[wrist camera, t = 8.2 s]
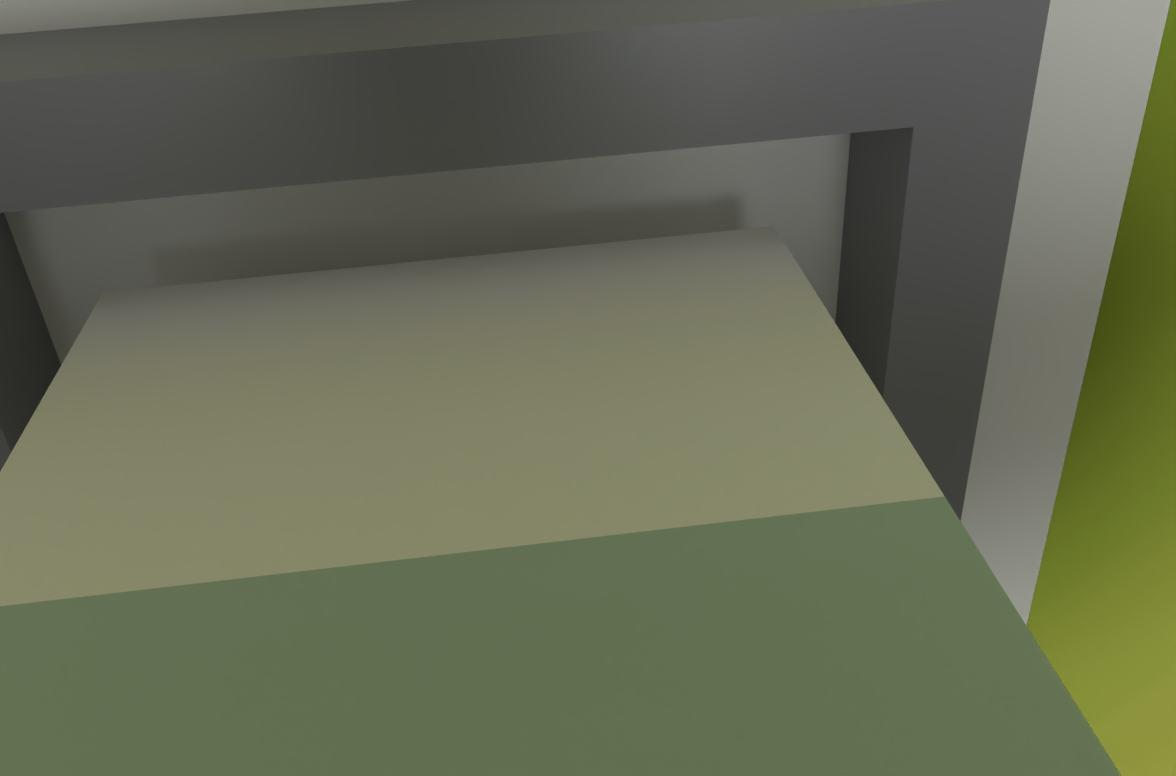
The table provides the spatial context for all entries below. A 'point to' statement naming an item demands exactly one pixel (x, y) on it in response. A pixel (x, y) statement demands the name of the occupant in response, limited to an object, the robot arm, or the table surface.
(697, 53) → the socket plate
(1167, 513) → the table surface
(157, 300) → the grey green box
